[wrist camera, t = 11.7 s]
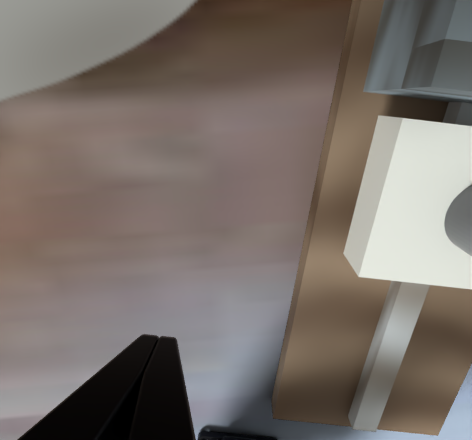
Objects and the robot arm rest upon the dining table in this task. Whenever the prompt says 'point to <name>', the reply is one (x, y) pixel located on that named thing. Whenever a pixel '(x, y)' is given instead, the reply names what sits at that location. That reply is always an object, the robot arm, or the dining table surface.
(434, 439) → the dining table surface
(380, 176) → the carriage
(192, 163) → the dining table surface
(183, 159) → the dining table surface
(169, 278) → the dining table surface
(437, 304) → the rail board
